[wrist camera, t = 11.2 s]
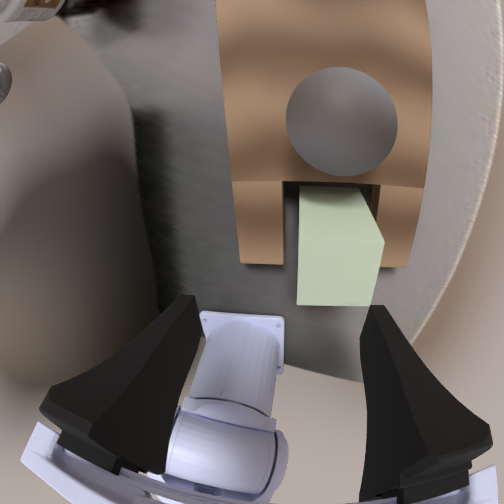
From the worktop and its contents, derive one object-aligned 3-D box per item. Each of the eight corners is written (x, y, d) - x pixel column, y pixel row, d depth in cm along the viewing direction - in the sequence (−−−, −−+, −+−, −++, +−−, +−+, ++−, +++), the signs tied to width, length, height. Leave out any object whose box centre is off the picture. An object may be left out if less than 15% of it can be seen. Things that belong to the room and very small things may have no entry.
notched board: (399, 252, 19) (406, 267, 18) (245, 247, 21) (240, 263, 20) (409, -13, 9) (420, -21, 7) (221, -22, 10) (213, -32, 9)
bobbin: (375, 160, 14) (393, 179, 11) (289, 156, 15) (287, 174, 12) (377, 76, 12) (398, 74, 9) (285, 70, 12) (282, 65, 9)
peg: (358, 187, 17) (384, 242, 12) (352, 239, 20) (369, 306, 14) (299, 185, 18) (298, 239, 12) (299, 237, 20) (296, 304, 14)
